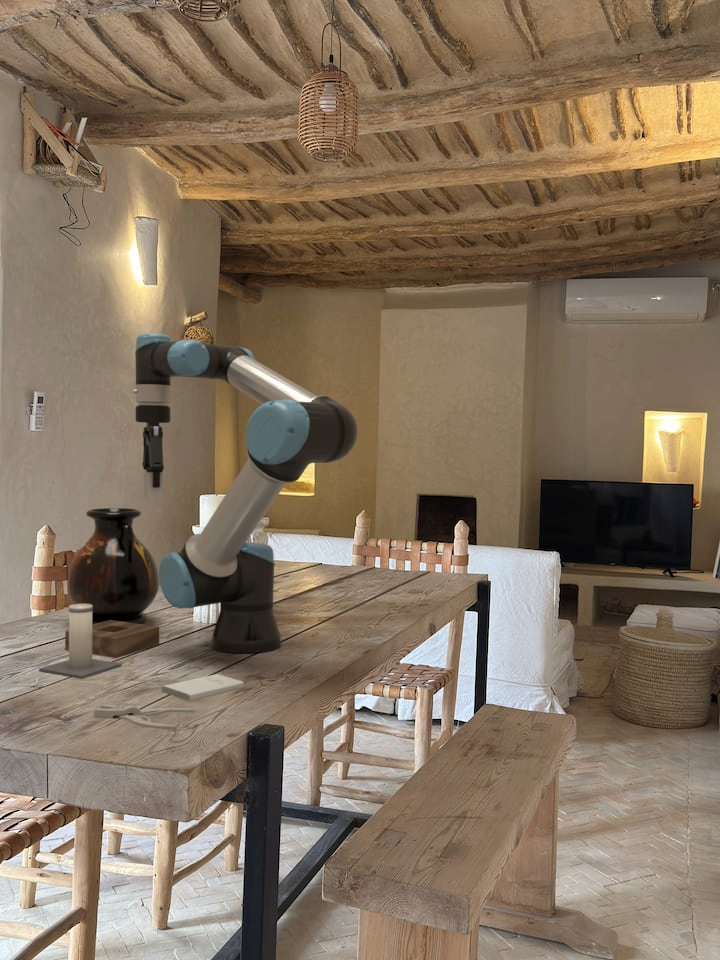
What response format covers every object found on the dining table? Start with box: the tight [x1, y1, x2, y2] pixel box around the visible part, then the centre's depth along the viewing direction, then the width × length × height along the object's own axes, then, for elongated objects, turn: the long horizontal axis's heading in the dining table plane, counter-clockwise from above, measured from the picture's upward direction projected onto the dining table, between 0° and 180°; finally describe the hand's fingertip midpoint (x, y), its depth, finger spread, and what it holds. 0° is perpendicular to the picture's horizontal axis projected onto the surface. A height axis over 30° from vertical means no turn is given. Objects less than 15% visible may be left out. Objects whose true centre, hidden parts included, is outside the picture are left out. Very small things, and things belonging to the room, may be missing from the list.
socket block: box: [64, 620, 160, 658], centre depth 197 cm, size 14×14×4 cm
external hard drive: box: [161, 673, 245, 702], centre depth 166 cm, size 2×8×12 cm
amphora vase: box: [66, 507, 160, 625], centre depth 220 cm, size 22×22×28 cm
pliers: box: [93, 704, 195, 730], centre depth 149 cm, size 10×2×15 cm
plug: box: [68, 603, 93, 669], centre depth 179 cm, size 4×4×12 cm
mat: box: [38, 658, 123, 679], centre depth 179 cm, size 11×11×1 cm
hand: (152, 500), depth 201 cm, fingers open, 13 cm apart
